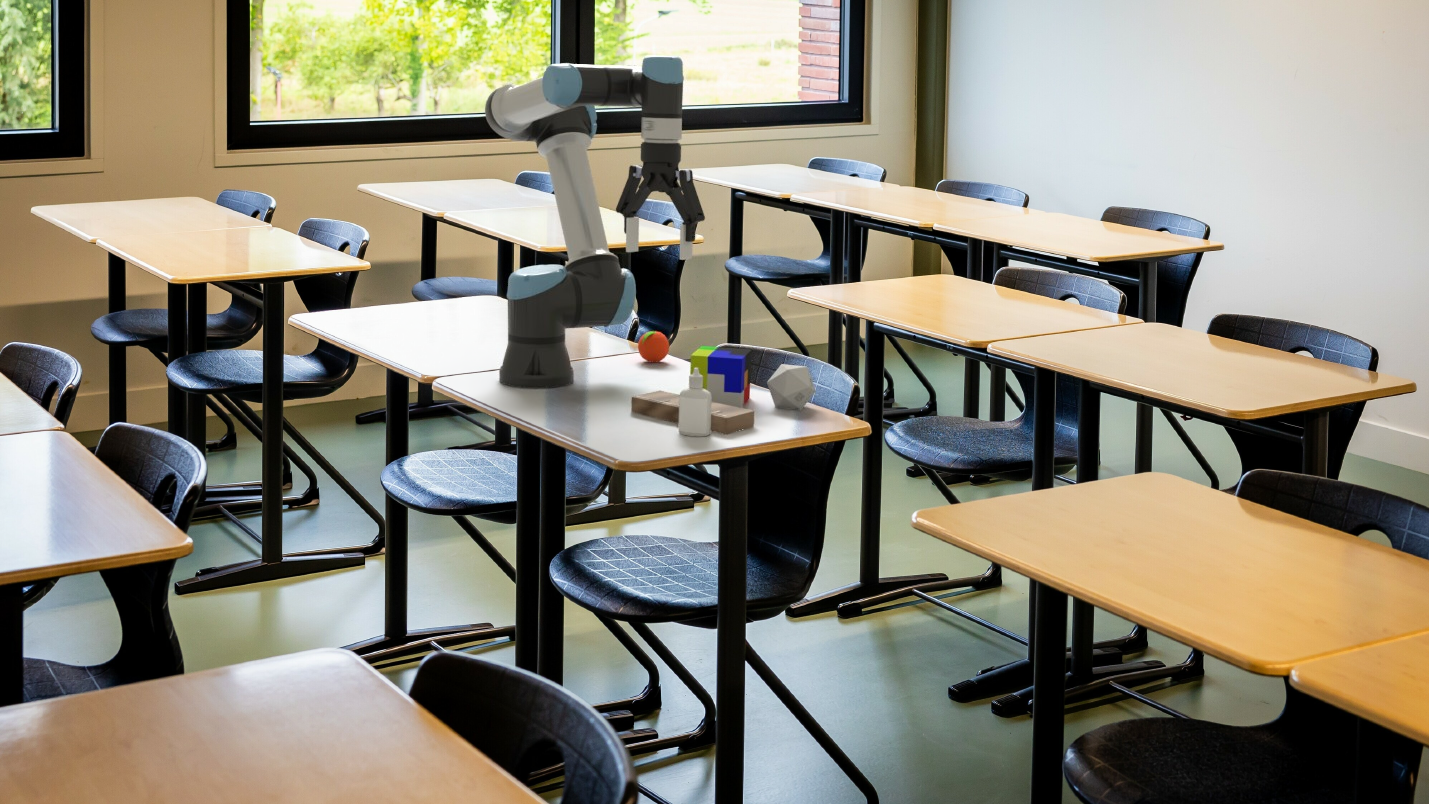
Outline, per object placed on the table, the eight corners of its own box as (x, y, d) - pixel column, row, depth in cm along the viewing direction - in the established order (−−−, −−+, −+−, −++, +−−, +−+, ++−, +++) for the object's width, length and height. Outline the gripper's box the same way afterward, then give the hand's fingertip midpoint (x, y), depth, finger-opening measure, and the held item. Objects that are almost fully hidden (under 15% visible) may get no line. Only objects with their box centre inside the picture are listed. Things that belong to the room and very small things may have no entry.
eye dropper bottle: (696, 439, 247) (698, 372, 244) (674, 433, 251) (676, 367, 248) (714, 435, 250) (716, 369, 247) (692, 429, 254) (694, 364, 251)
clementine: (655, 367, 306) (655, 335, 305) (628, 363, 310) (629, 331, 308) (674, 361, 313) (675, 330, 311) (648, 357, 316) (649, 326, 315)
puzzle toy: (740, 410, 270) (742, 358, 268) (689, 406, 272) (690, 355, 269) (749, 399, 279) (751, 349, 277) (700, 395, 281) (701, 346, 279)
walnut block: (631, 412, 265) (631, 396, 264) (659, 405, 271) (659, 389, 270) (726, 434, 251) (726, 417, 250) (753, 426, 257) (754, 410, 256)
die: (786, 417, 267) (819, 376, 267) (752, 389, 270) (784, 348, 270) (797, 424, 275) (830, 384, 275) (764, 396, 278) (795, 357, 278)
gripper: (598, 138, 266) (597, 250, 271) (699, 145, 251) (696, 264, 256) (625, 137, 272) (623, 247, 277) (725, 144, 257) (722, 260, 262)
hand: (658, 255), depth 266 cm, fingers open, 13 cm apart
